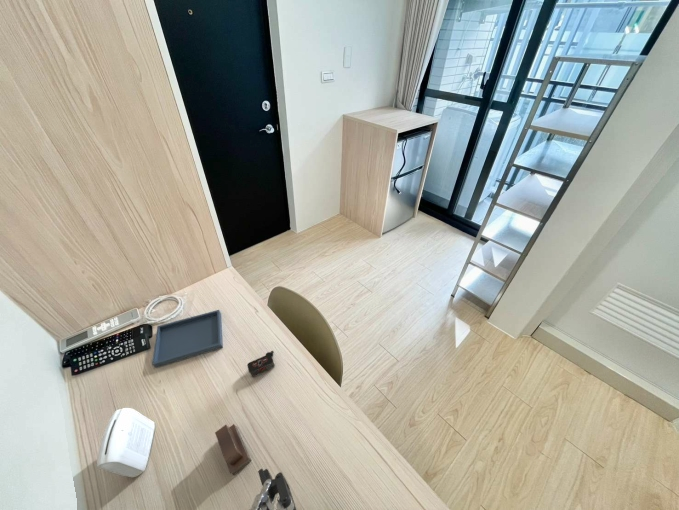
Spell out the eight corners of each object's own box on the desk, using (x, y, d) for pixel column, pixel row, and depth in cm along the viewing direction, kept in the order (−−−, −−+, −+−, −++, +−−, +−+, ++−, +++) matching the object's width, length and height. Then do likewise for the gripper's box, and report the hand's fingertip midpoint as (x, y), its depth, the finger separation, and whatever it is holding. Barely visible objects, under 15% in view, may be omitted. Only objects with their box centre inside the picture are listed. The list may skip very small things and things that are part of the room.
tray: (155, 368, 72) (151, 364, 71) (160, 329, 80) (157, 326, 79) (222, 347, 76) (220, 344, 75) (221, 313, 85) (219, 309, 83)
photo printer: (137, 425, 63) (106, 407, 54) (157, 419, 63) (130, 402, 55) (123, 480, 55) (85, 470, 47) (146, 474, 56) (112, 463, 48)
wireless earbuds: (278, 366, 73) (276, 361, 71) (252, 378, 70) (249, 373, 68) (273, 351, 76) (271, 346, 73) (248, 362, 73) (245, 357, 71)
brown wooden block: (251, 460, 58) (243, 453, 53) (233, 475, 56) (223, 469, 51) (236, 426, 62) (228, 417, 57) (219, 439, 61) (209, 430, 56)
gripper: (296, 512, 31) (267, 442, 46) (164, 642, 25) (179, 513, 39) (323, 563, 32) (287, 478, 47) (202, 702, 26) (204, 554, 40)
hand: (238, 494), depth 43 cm, fingers open, 8 cm apart
